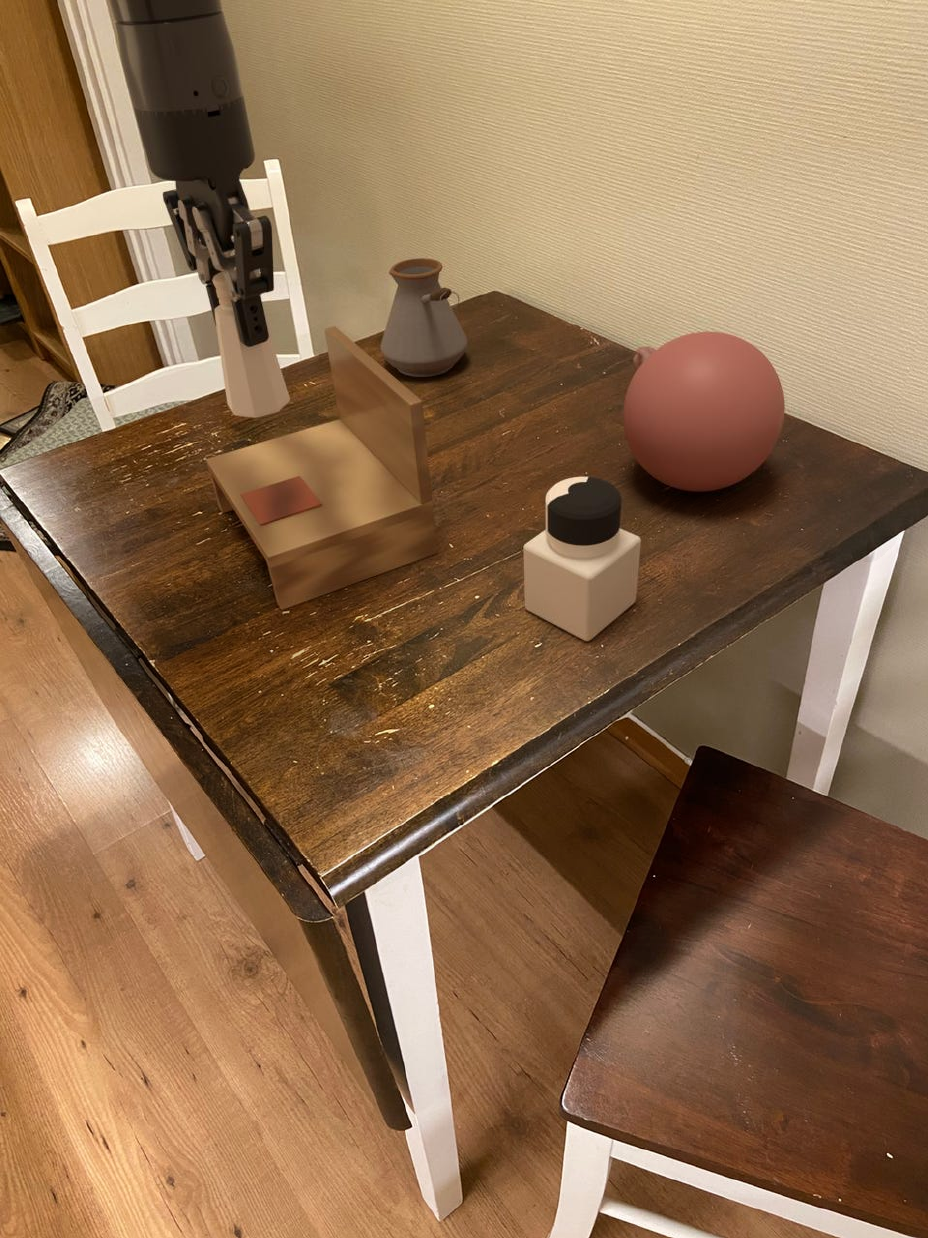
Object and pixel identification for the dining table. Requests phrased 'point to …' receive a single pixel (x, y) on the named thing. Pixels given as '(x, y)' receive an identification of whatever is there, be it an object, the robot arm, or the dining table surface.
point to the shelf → (337, 485)
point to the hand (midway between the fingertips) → (242, 334)
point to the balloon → (703, 410)
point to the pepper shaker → (247, 365)
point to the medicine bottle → (581, 559)
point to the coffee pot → (422, 322)
